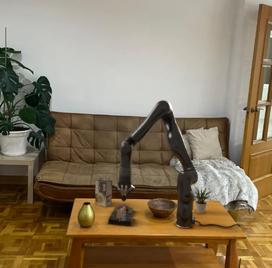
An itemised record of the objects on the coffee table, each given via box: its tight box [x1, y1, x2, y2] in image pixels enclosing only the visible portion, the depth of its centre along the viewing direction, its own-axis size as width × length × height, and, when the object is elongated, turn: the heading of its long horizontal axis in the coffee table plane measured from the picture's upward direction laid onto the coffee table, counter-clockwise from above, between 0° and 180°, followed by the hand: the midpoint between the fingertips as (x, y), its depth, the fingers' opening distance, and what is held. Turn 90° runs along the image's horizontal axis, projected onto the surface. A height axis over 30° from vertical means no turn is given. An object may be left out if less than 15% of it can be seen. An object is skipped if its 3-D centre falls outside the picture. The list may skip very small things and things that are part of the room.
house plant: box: [194, 186, 212, 214], centre depth 229 cm, size 14×14×16 cm
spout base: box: [107, 212, 135, 227], centre depth 210 cm, size 13×12×3 cm
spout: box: [117, 206, 126, 220], centre depth 209 cm, size 8×2×5 cm, turn 158°
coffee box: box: [94, 177, 113, 208], centre depth 234 cm, size 9×6×16 cm
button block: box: [112, 204, 134, 215], centre depth 223 cm, size 11×9×4 cm
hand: (123, 200), depth 222 cm, fingers closed
